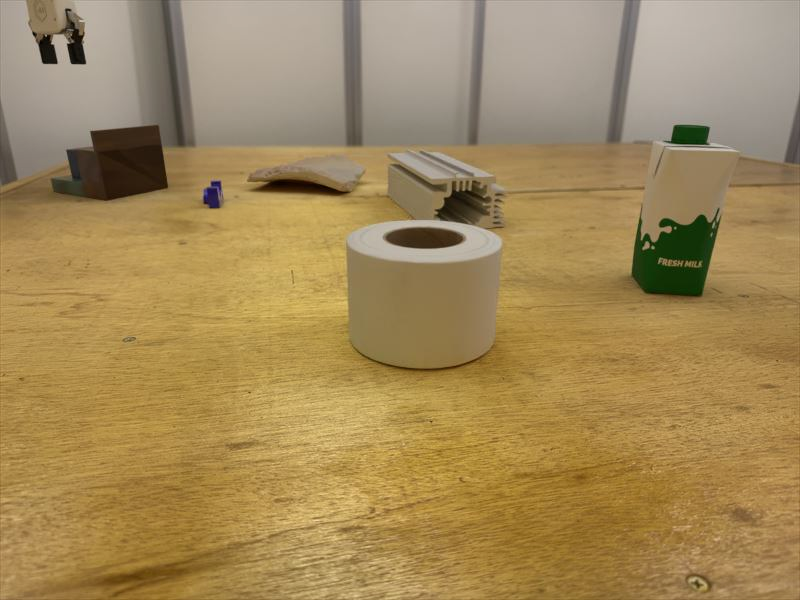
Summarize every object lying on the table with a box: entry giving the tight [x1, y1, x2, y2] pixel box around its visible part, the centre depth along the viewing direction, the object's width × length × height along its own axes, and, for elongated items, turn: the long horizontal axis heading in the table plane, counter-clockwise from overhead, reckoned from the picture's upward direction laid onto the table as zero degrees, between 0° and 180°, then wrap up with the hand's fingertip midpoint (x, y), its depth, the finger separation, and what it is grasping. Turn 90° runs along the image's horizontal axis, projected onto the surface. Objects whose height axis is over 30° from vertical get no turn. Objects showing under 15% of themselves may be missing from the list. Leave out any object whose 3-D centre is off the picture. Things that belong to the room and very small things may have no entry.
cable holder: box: [202, 179, 224, 209], centre depth 113 cm, size 8×4×4 cm, turn 11°
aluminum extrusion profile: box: [386, 148, 509, 229], centre depth 109 cm, size 14×31×10 cm, turn 15°
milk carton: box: [630, 124, 742, 297], centre depth 69 cm, size 9×9×20 cm
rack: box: [50, 124, 169, 202], centre depth 123 cm, size 18×16×14 cm
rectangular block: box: [65, 145, 93, 178], centre depth 125 cm, size 4×10×6 cm, turn 152°
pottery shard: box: [246, 153, 367, 192], centre depth 131 cm, size 24×8×20 cm
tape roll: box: [345, 219, 503, 370], centre depth 57 cm, size 16×15×11 cm
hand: (64, 64), depth 119 cm, fingers open, 9 cm apart
